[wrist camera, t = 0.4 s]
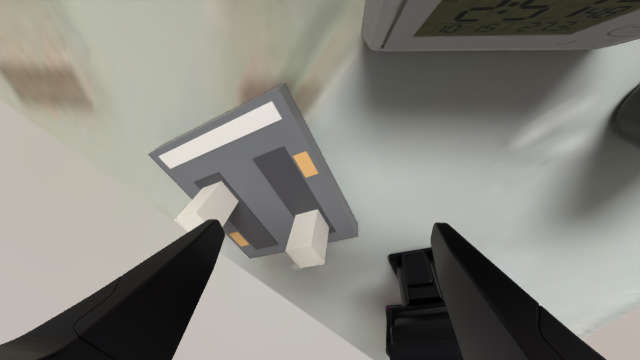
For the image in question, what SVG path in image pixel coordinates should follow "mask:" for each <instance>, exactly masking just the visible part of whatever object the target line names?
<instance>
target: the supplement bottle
mask: <svg viewBox="0 0 640 360" xmlns="http://www.w3.org/2000/svg"><path fill="white" fill-rule="evenodd" d="M615 130H616V133H617V135H618V136H619V137H620V138H621V139H622V140H623V141H625V142H627V143H628V144H630V145H632V146H634V147H636V148H638V149H640V86H638V87H637V88H636V89H635V90H634V91H633V92H632V93H631V94H630V95H629V96H628V97H627V98H626V100H625V101H624V102H623V104H622V105H621V107H620V108H619V110H618V112H617V114H616V117H615Z"/></svg>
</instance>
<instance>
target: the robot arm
mask: <svg viewBox="0 0 640 360" xmlns="http://www.w3.org/2000/svg"><path fill="white" fill-rule="evenodd" d="M224 237H225V232H224V230H223V228H222V226H221V224H220V222H219V220H217V219H208V220H206V221H205V222H203V223H202V224H200V225H199V226H197V227H196V228H194V229H193V230H191V231H189V232H188V233H186V234H185V235H183V236H182V237H180V238H179V239H177V240H176V241H174V242H173V243H171V244H169V245H168V246H166V247H165V248H163V249H162V250H161V251H159V252H157V253H156V254H154V255H153V256H151V257H150V258H148V259H146V260H145V261H143V262H142V263H140V264H139V265H137V266H136V267H134V268H133V269H131V270H130V271H128V272H127V273H125V274H123V276H121V277H119V278H117V279H116V280H114V281H113V282H111V283H110V284H108V285H106V286H105V287H103V288H102V289H100V290H99V291H97V292H95V293H94V294H92V295H91V296H89V297H87V298H86V299H84V300H82V301H81V302H79V303H77V304H76V305H74V306H72V307H71V308H69V309H67V310H65V311H64V312H62V313H60V314H59V315H57V316H56V317H54V318H52V319H50V320H48V321H47V322H45V323H44V324H42V325H40V326H38V327H37V328H35V329H33V330H32V331H30V332H28V333H26V334H25V335H22V336H20V337H19V338H16V339H14V340H12V341H9V342H7V343H4V344H1V345H0V360H172V358H173V356H174V354H175V352H176V350H177V347H178V345H179V343H180V341H181V339H182V336H183V334H184V332H185V330H186V328H187V326H188V323H189V321H190V319H191V317H192V315H193V313H194V310H195V308H196V306H197V304H198V302H199V299H200V297H201V295H202V293H203V291H204V289H205V286H206V284H207V282H208V280H209V278H210V275H211V273H212V271H213V269H214V266H215V263H216V260H217V258H218V255H219V252H220V249H221V246H222V243H223V240H224ZM431 246H432V248H427V249H421V250H415V251H409V252H403V253H397V254H391V255H389V256H388V257H389V261H390V263H391V265H392V268H393V270H394V272H395V274H396V276H397V278H398V281H399V287H400V293H401V299H402V305H403V306H400V307H388V314H387V332H386V353H387V355H388V356H389V357H390V360H606V359H605V358H604V357H602V356H601V355H600V354H599V353H597V352H596V351H595V350H594V349H592V348H591V347H590V346H589V345H587V344H586V343H585V342H584V341H582V340H581V339H580V338H579V337H577V336H576V335H575V334H574V333H573V332H571V331H570V330H569V329H568V328H567V327H566V326H564V325H563V324H562V323H561V322H560V321H558V320H557V319H556V318H555V317H554V316H553V315H551V314H550V313H549V312H548V311H547V310H546V309H545V308H544V307H542V306H539V303H538V302H537V301H535V300H534V299H533V298H532V297H531V296H530V295H529V294H527V293H526V292H525V291H524V290H523V289H522V288H521V287H519V286H518V285H517V284H516V283H515V282H514V281H513V280H511V279H510V278H509V277H508V276H507V275H506V274H505V273H503V272H502V271H501V270H500V269H499V268H498V267H497V266H495V265H494V264H493V263H492V262H491V261H490V260H489V259H487V258H486V257H485V256H484V255H483V254H482V253H481V252H479V251H478V250H477V249H476V248H475V247H474V246H473V245H471V244H470V243H469V242H468V241H467V240H466V239H465V238H463V237H462V236H461V235H460V234H459V233H458V232H457V231H456V230H454V229H453V228H452V227H451V226H450V225H449V224H447V223H435V224H434V226H433V230H432V234H431Z"/></svg>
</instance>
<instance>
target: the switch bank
mask: <svg viewBox="0 0 640 360" xmlns="http://www.w3.org/2000/svg"><path fill="white" fill-rule="evenodd" d="M148 155H149V156H150V157H151V158H152V159H153V160H154V161H155V162H156V163H157V164H158V165H159V166H160V167H161V168H162V169H163V170H164V171H165V172H166V173H167V174H168V175H169V176H170V177H171V178H172V179H173V180H174V181H175V182H176V183H177V184H178V186H179V187H180V188H181V189H182V190H183V191H184V192H185V193H186V194H187V195H188V196H189V197H190V198H191V199H193V198H194V197H195V196H196V195H197V194H198V193H199V192H200V190H201V189H202V188H204V187H207V186H210V185H212V184H215V183H218V182H220V181H222V182H223V183H224V185H225V186H226V187H227V188H228V189H229V190H230V192H231V193H232V194H233V195H234V196H235V198H236V199H237V200H238V201H239V202H238V203H237V205H236V206H235V208H234V210H233V211H232V213H231V214H230V216H229V218H228V219H227V221H226V222H225V224H224V226H223V227H222V228H223V230H224V232H225V234H226V235H227V236H228V237H229V238H230V239H231V240H232V241H233V242H234V243H235V244H236V245H237V246H238V247H239V248H240V249H241V250H242V251H243V252H244V253H245V254H246V255H247V256H248V257H249V258H255V257H260V256H264V255H269V254H274V253H279V252H284V251H285V250H286V246H287V243H288V239H289V236H290V233H291V229H292V226H293V222H294V219H295V216H296V215H298V214H302V213H306V212H309V211H313V210H317V209H318V210H319V212H320V214H321V215H322V217H323V218H324V220H325V222H326V223H327V225H328V227H329V232H328V240H327V243H328V242H332V241H337V240H342V239H347V238H352V237H357V236H358V223H357V221H356V219H355V217H354V215H353V213H352V211H351V209H350V207H349V205H348V203H347V202H346V200H345V198H344V196H343V194H342V192H341V190H340V188H339V186H338V184H337V182H336V180H335V178H334V176H333V174H332V173H331V171H330V169H329V167H328V165H327V163H326V161H325V159H324V157H323V155H322V153H321V151H320V149H319V147H318V145H317V144H316V142H315V140H314V138H313V136H312V134H311V132H310V130H309V128H308V126H307V124H306V122H305V120H304V118H303V116H302V115H301V113H300V111H299V109H298V107H297V105H296V103H295V101H294V99H293V97H292V95H291V93H290V91H289V89H288V87H287V86H286V84H285V83H283V84H281V85H279V86H277V87H275V88H273V89H271V90H269V91H267V92H265V93H263V94H261V95H259V96H257V97H255V98H253V99H251V100H249V101H248V102H246V103H244V104H242V105H240V106H238V107H236V108H234V109H232V110H230V111H228V112H226V113H224V114H222V115H220V116H218V117H216V118H214V119H212V120H210V121H208V122H206V123H204V124H202V125H200V126H198V127H196V128H195V129H193V130H191V131H189V132H187V133H185V134H183V135H181V136H179V137H177V138H175V139H173V140H171V141H169V142H167V143H165V144H163V145H161V146H160V147H158V148H157V149H155V150H154V151H152V152H151V153H149V154H148Z"/></svg>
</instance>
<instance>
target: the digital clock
mask: <svg viewBox="0 0 640 360" xmlns="http://www.w3.org/2000/svg"><path fill="white" fill-rule="evenodd" d="M361 35H362V38H363V39H364V41H365V42H366V44H367V45H368V46H369V48H370V49H371V50H373V51H517V50H589V49H599V48H604V47H609V46H614V45H618V44H621V43H625V42H629V41H633V40H637V39H640V0H366V1H365V8H364V15H363V22H362V30H361Z"/></svg>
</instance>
